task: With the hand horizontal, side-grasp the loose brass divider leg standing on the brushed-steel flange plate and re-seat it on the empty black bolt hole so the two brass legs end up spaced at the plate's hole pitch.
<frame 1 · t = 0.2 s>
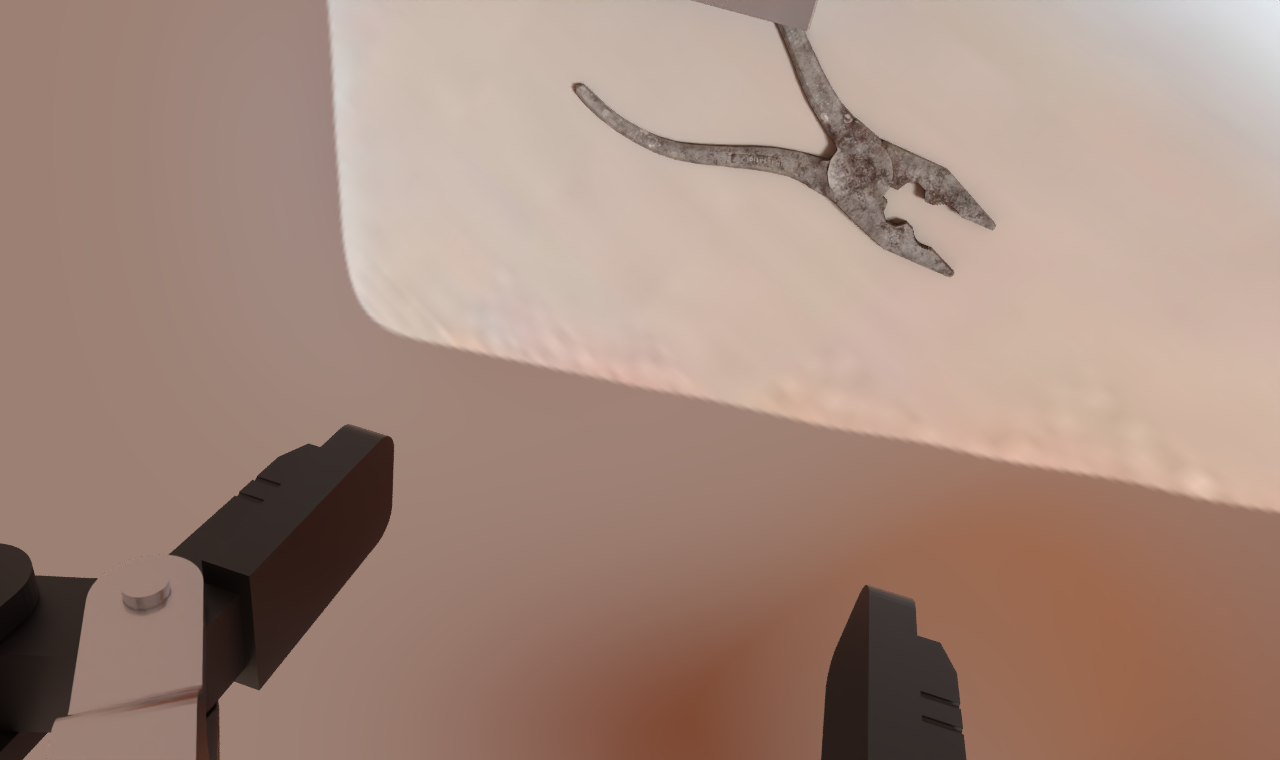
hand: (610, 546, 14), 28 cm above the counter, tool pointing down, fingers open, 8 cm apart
pliers: (805, 94, 37), on the counter
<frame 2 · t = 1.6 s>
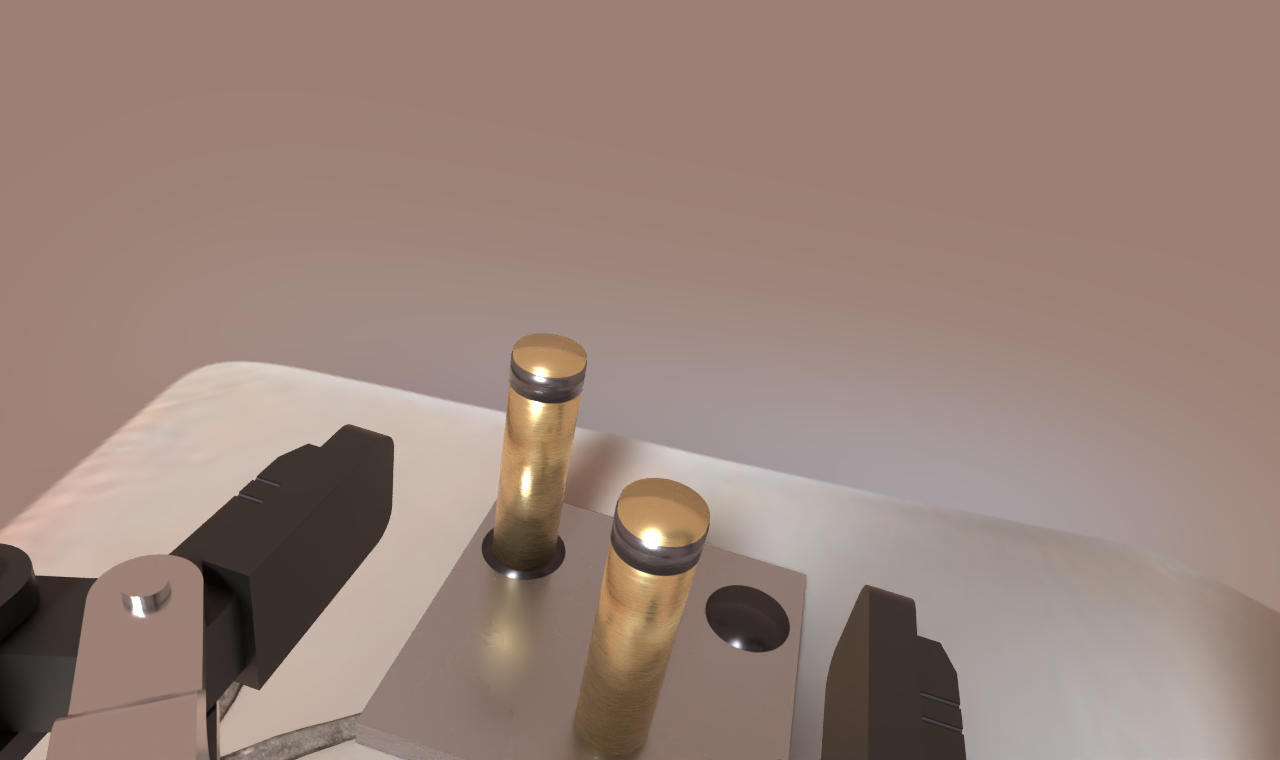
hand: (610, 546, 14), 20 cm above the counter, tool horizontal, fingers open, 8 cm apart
loose brass leg: (612, 720, 33), point 1 cm above the counter, touching flange plate
fixed brass leg: (523, 548, 40), resting on flange plate
flange plate: (610, 655, 37), on the counter
pliers: (282, 745, 31), on the counter
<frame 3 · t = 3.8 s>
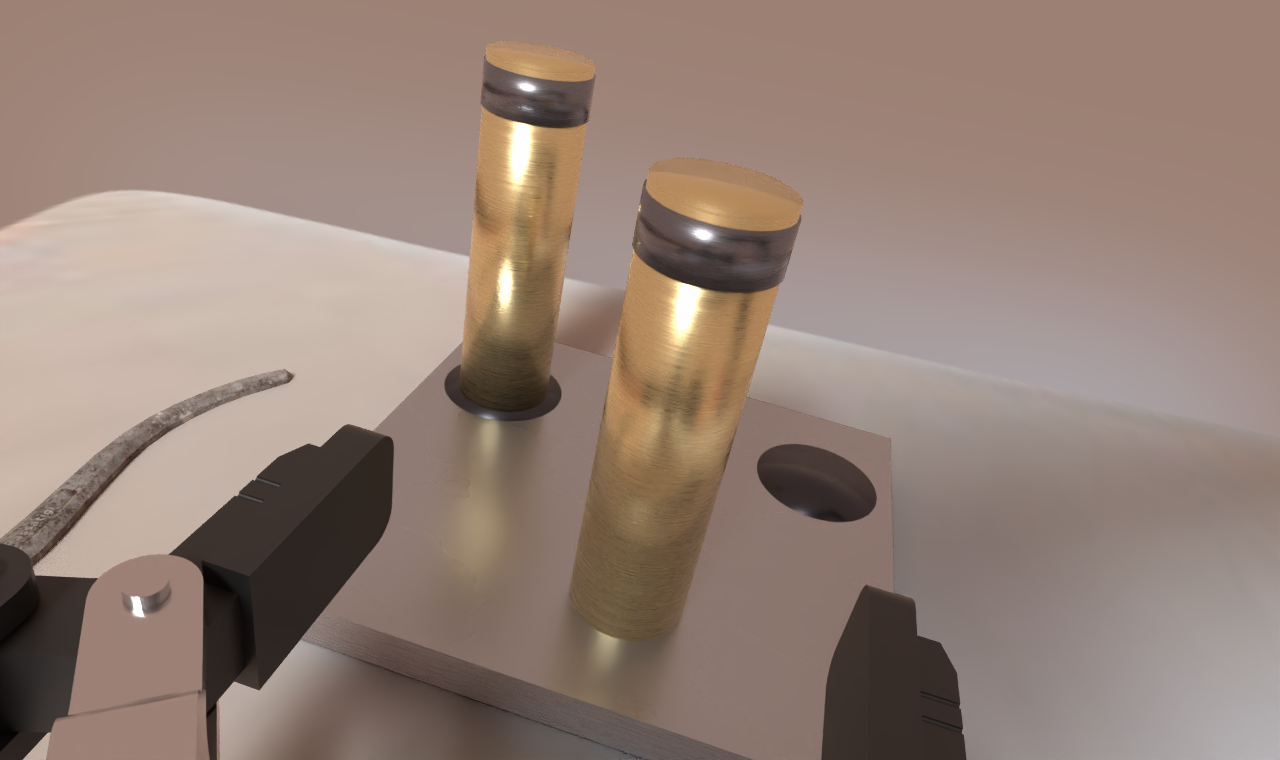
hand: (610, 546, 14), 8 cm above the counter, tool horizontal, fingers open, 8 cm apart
loose brass leg: (627, 594, 21), point 1 cm above the counter, touching flange plate
fixed brass leg: (503, 387, 29), resting on flange plate
flange plate: (623, 523, 26), on the counter
pliers: (116, 617, 20), on the counter
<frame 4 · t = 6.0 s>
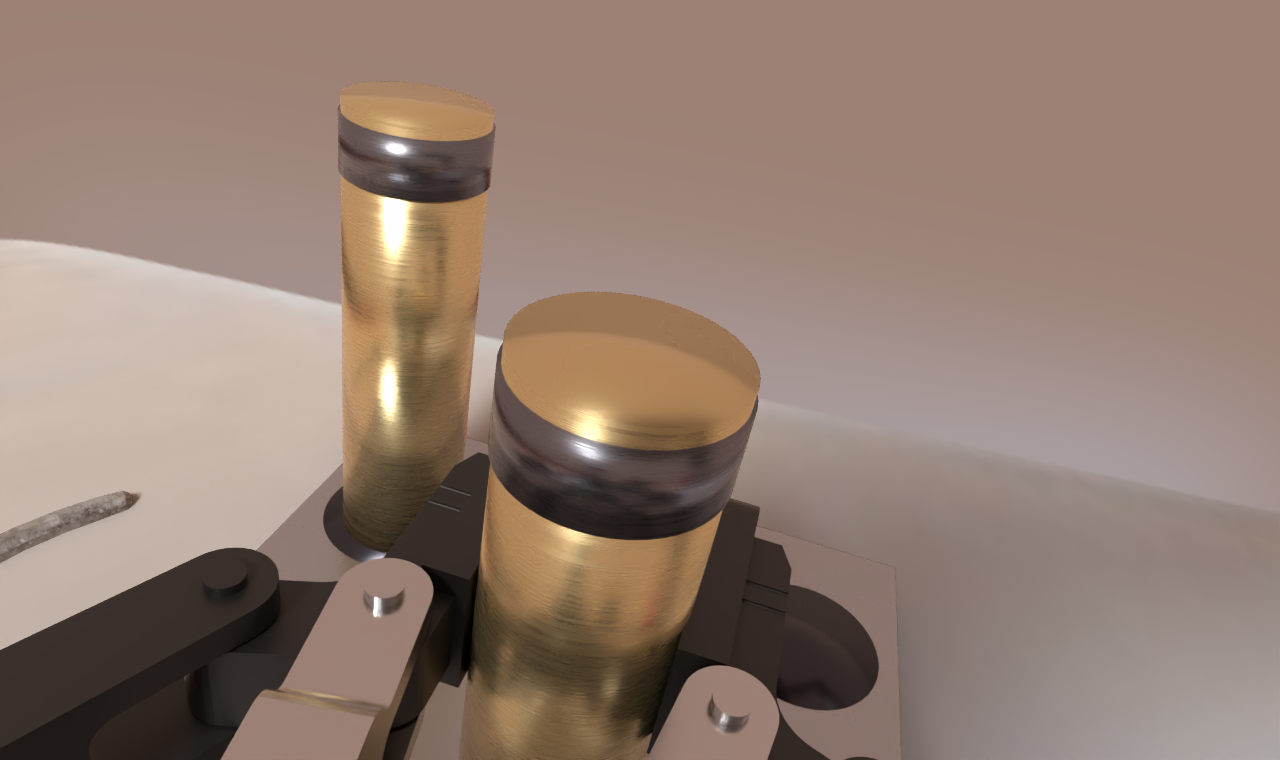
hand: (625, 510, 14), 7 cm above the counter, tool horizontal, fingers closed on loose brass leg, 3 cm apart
fixed brass leg: (402, 514, 22), resting on flange plate
flange plate: (544, 713, 19), on the counter
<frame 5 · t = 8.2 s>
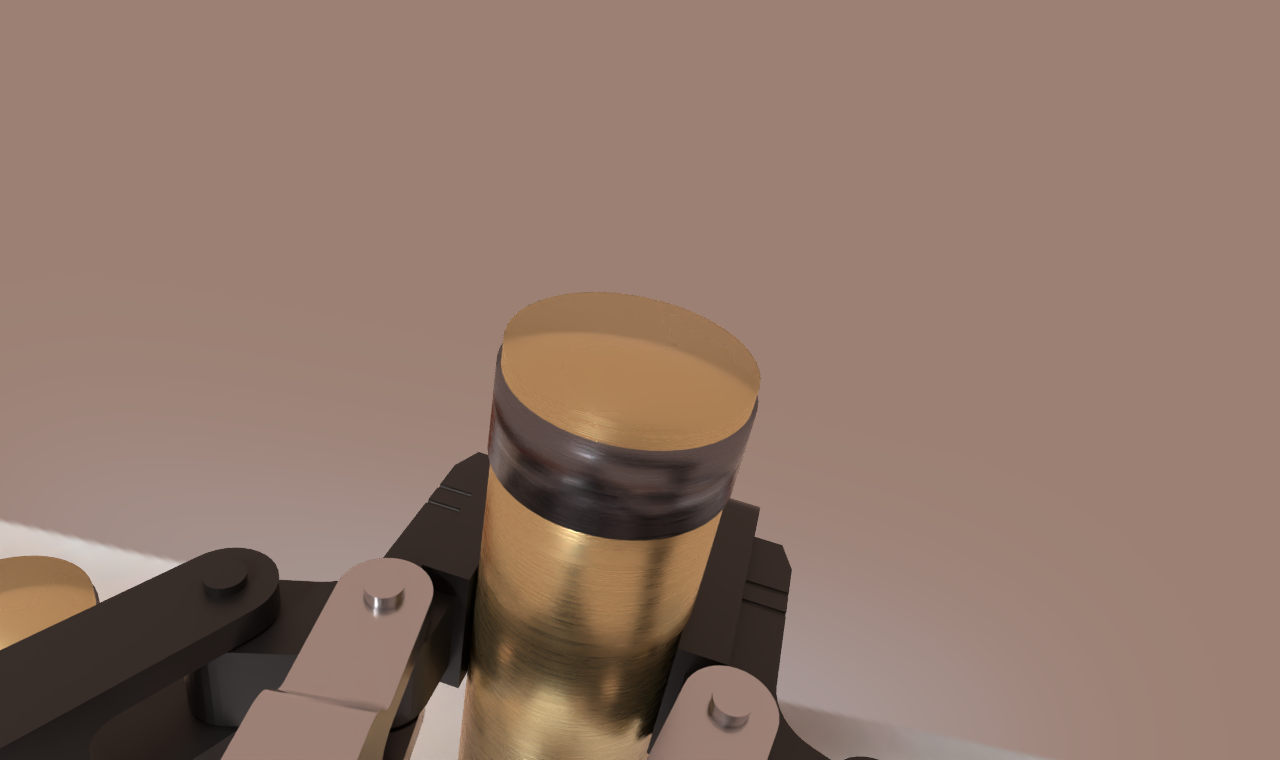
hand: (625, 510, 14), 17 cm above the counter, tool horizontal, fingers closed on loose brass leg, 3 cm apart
when the fingers open (8 cm above the counter, at t = 10.3 s): loose brass leg stays where it is, resting on flange plate.
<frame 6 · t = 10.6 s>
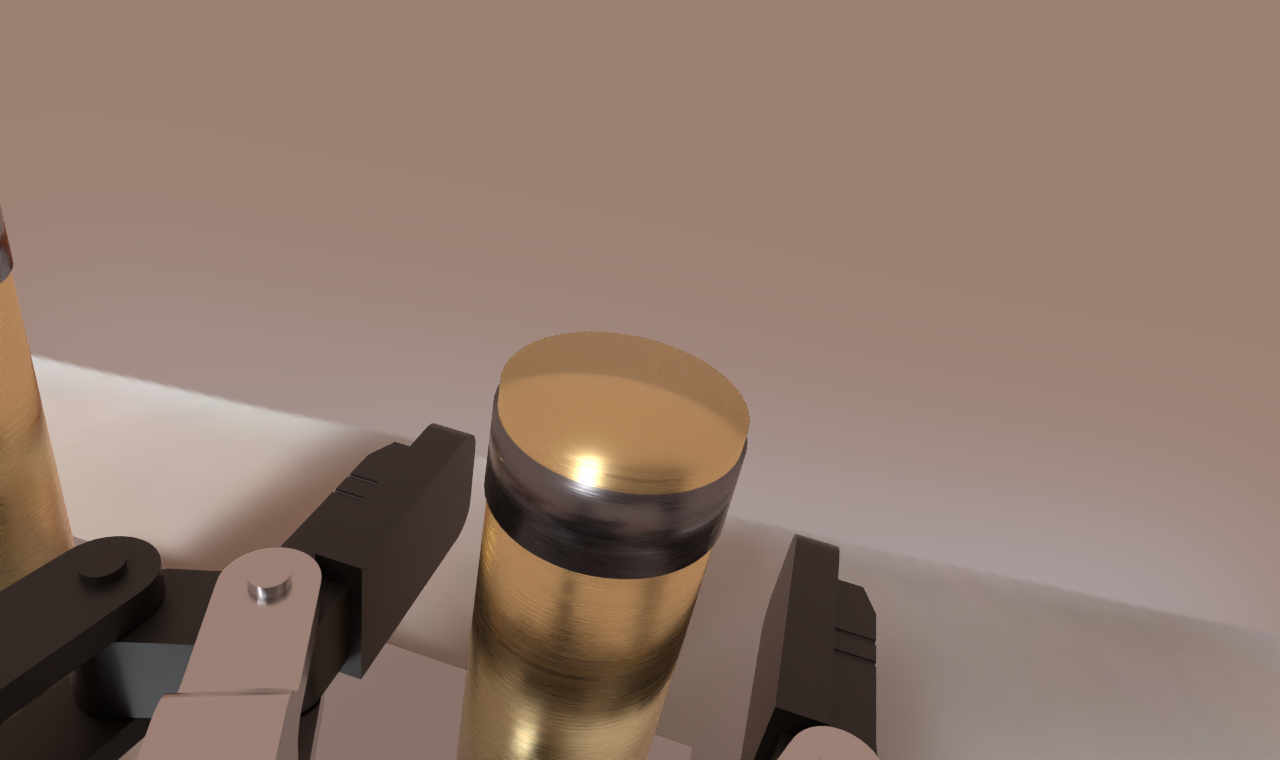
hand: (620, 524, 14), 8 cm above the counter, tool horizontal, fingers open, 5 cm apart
fixed brass leg: (16, 695, 17), resting on flange plate
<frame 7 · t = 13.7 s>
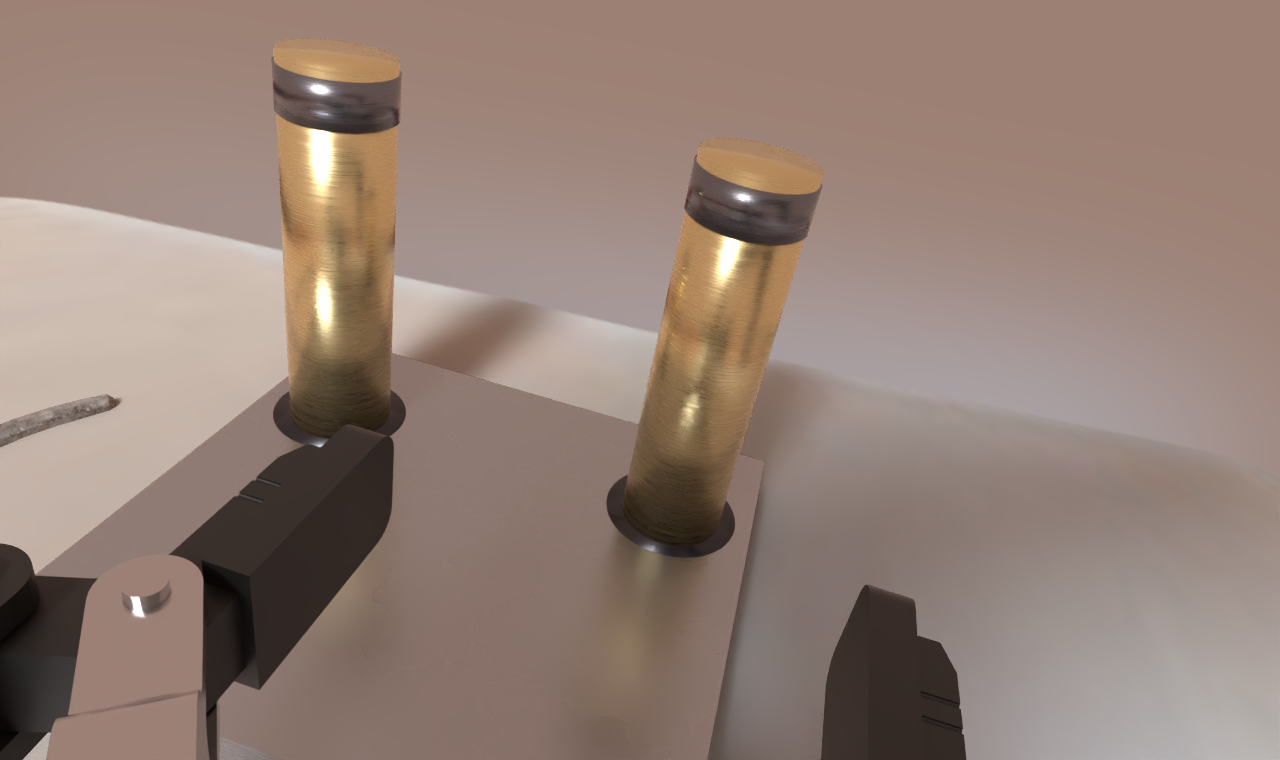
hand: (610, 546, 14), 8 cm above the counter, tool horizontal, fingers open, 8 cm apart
loose brass leg: (670, 511, 25), point 1 cm above the counter, touching flange plate
fixed brass leg: (341, 411, 27), resting on flange plate
flange plate: (452, 561, 24), on the counter
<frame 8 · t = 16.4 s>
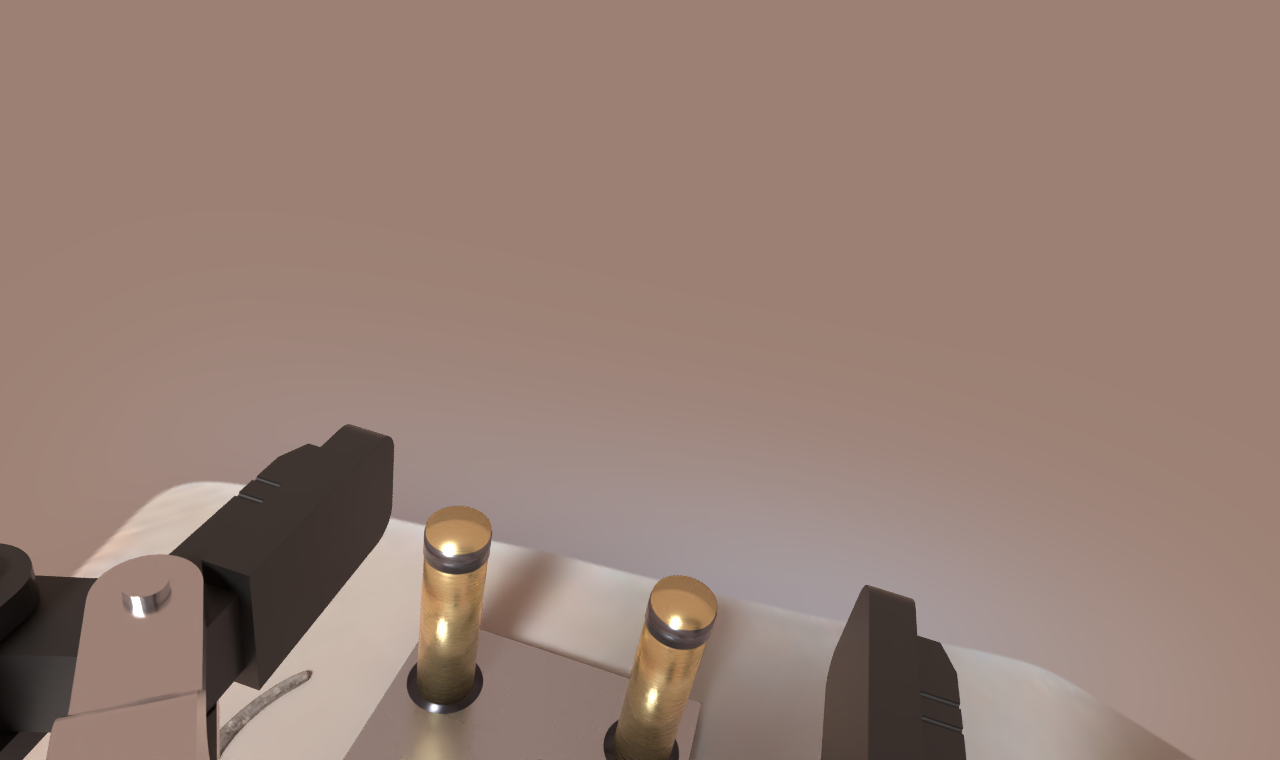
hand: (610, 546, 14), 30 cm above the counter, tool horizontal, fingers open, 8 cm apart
loose brass leg: (641, 749, 43), point 1 cm above the counter, touching flange plate
fixed brass leg: (445, 681, 44), resting on flange plate
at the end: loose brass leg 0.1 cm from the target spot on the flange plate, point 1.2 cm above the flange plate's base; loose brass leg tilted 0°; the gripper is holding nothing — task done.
